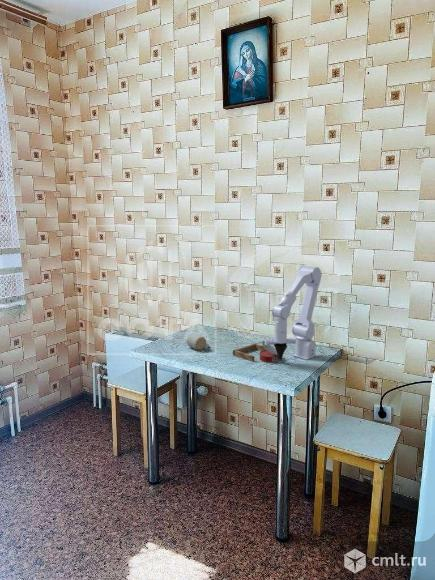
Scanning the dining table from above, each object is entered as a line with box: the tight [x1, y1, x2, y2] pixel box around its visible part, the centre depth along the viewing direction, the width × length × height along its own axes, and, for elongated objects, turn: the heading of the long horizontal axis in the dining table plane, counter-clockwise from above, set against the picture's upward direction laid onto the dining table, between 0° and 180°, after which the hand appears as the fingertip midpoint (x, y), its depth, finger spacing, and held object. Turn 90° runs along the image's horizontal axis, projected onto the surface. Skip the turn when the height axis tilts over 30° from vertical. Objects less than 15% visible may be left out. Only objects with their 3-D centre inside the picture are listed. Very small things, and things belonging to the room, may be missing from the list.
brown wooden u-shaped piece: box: [232, 343, 266, 362], centre depth 218 cm, size 13×16×2 cm
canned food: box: [259, 340, 281, 364], centre depth 211 cm, size 11×10×10 cm
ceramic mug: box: [186, 332, 209, 351], centre depth 228 cm, size 11×8×8 cm
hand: (280, 358), depth 206 cm, fingers closed
